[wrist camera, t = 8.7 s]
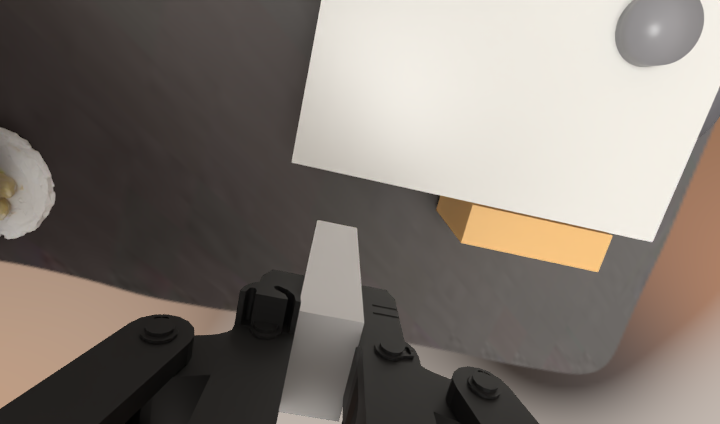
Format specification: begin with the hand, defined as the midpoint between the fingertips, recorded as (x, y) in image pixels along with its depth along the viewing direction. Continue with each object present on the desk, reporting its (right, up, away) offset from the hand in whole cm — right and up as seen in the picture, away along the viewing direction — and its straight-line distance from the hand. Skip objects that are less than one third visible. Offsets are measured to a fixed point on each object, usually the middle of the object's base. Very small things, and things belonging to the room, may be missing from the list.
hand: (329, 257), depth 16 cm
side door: (+11, +2, +15) cm, 18 cm away
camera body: (+9, +10, +12) cm, 18 cm away
